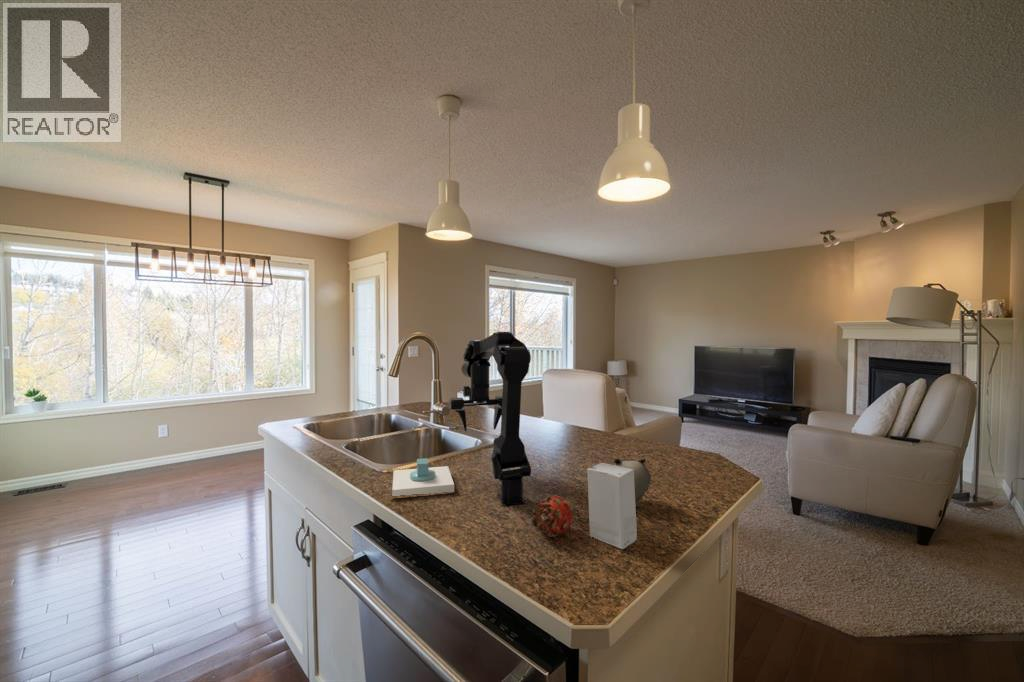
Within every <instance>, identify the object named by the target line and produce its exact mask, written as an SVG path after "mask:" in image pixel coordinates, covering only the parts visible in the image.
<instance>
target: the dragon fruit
mask: <svg viewBox="0 0 1024 682" xmlns="http://www.w3.org/2000/svg"><path fill="white" fill-rule="evenodd" d="M532 515H533V516H534V518H533V519H532V521H531V523H532V526H533V527H536V528H538V531H539V532H540V533H543V534H545V535H546V536H547V537H550V536H551V537H555V536H556V537H558V535H559V534H561V535H564V534H569V532H570V530H571V528H570V524H571V523H572V521H573V518H574V517H573V515H574V513H573V510H572V508H571V506H570V505H569V504H568V503H567V502H566V501H565V500H564V499H563V498H562V497H561V496H560V495H558V494H553V495H551V497H550V496H548V497H545V498H544V499H541V501H540V502H539V504H536V505H535V506H534V507H533V511H532ZM551 537H550V538H551ZM556 537H555V538H556Z"/></svg>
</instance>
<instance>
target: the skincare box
mask: <svg viewBox="0 0 1024 682" xmlns="http://www.w3.org/2000/svg"><path fill="white" fill-rule="evenodd" d="M586 471H587V472H586V473H587V493H588V494H587V495H588V518H589V519H588V520H589V524H588V525H589V537H590V536H591V537H590V538H592V537H594V538H593V539H595V538H596V539H595V540H597V539H598V541H600V542H603V543H605V544H608V545H610V546H613V547H616V548H618V549H620V550H624V549H626V547H628V546H630V545H632V544H633V543H635V542H636V541H637V538H638V536H637V535H638V534H637V533H638V532H637V513H636V512H637V511H636V510H637V509H636V508H637V507H636V506H635V485H634V469H629V468H624V467H619V466H615V464H610V463H605V462H599V463H597V464H594V465H593V466H591V467H588V468H587V470H586Z"/></svg>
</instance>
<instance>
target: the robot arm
mask: <svg viewBox="0 0 1024 682" xmlns="http://www.w3.org/2000/svg"><path fill="white" fill-rule="evenodd" d="M462 357H463V361H464V362H463V364H462V366H461V373H462V374H463V376H465V377H467V378H469V379H470V386H469V385H468V386H467V385H466V386H463V388H462V393H463V394H462V396H463V397H464V398H467V397H468V399H464V398H463V397H451V398H449V401H448V407H449V409H450V410H454V412H455V413H458V415H459V418H460V420H461V424H462V426H463V430H464V432H467V418H466V416H467V415H466V409H465V408H464V407H476V406H479V407H480V406H493V407H494V408H493V409H494V413H493V430H496V429H497V426H498V423H499V421H500V420H501V421H500V423H501V424H500V434H499V435H498V437H494V439H493V441H492V442H493V448H492V454H491V468H492V473H493V477H494V479H495V480H498V481H500V493H497V495H496V496H497V498H498V497H499V498H498V499H500V500H499V502H500V501H501V502H500V503H501V505H502V504H511V505H515V504H514V503H520V504H524V503H523V502H527V503H528V500H527V498H526V497H525V496H524V477H531V474H532V467H531V465H530V462H529V459H528V456H527V454H526V448H525V445H524V443H523V441H522V439H521V438H520V428H521V427H520V423H521V403H522V384H523V380H524V379H525V378H526V376H527V375H528V373H529V368H530V363H531V360H532V358H531V357H532V356H531V353H530V350H529V348H527V345H526V344H525V343H524V342H523V341H521V340H519V339H518V338H517V337H515V335H514V334H513V333H512V332H510V331H496V332H492V334H491V335H489V336H487V337H485V338H482V339H478V340H477V339H474V340H473V339H472V340H470V341H468V344H467V346H466V348H465V350H464V353H463V356H462ZM492 357H493V358H494V361H495V363H496V367H497V368H496V369H497V371H498V373H499V375H500V377H501V378H502V392H501V393H502V394H501V395H496V396H495V397H494V398H490V367H491V362H490V358H492ZM500 418H501V419H500ZM515 468H516V469H515Z"/></svg>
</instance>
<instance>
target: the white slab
mask: <svg viewBox="0 0 1024 682" xmlns="http://www.w3.org/2000/svg"><path fill="white" fill-rule="evenodd" d="M428 468H429V470H433V471H435V478H433V479H432V480H428V481H413V480H411V479H410V473H411V472H413V471H416V470H417V468H409V469H408V468H406V469H396V470H393V475H392V476H393V477H392V490H391V493H392V494H391V497H392V496H400V495H412V494H429V493H442V492H454V493H455V483H454V480H453V477H452V474H451V471H450V468H449V466H448V465H447V466H435V467H428Z"/></svg>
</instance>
